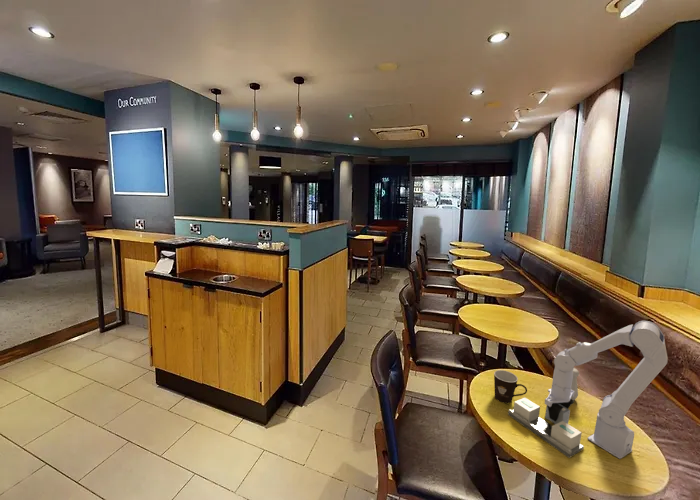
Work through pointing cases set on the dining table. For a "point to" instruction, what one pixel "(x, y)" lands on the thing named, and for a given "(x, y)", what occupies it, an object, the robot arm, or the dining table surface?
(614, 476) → the dining table surface
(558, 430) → the module
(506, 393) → the coffee mug
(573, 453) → the rail
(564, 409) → the block
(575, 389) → the salt shaker
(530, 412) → the block
